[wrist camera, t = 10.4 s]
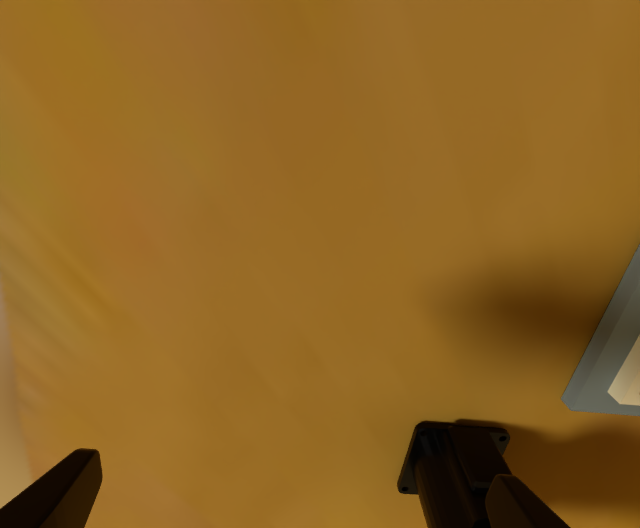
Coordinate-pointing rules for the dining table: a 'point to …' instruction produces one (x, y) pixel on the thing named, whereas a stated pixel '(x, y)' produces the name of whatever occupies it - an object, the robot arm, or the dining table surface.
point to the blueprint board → (612, 355)
